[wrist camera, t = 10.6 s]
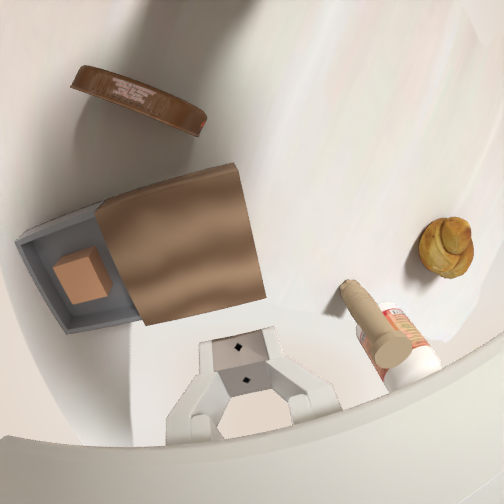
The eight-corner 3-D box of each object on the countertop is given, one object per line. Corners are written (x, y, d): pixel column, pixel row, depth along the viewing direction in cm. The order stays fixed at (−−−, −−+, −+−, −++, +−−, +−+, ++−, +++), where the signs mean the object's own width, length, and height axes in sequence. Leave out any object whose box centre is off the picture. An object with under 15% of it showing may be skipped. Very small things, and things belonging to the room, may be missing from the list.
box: (26, 230, 32) (14, 241, 29) (105, 199, 33) (96, 209, 30) (73, 320, 40) (66, 334, 37) (148, 303, 40) (145, 319, 37)
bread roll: (465, 240, 45) (493, 260, 38) (435, 279, 48) (460, 303, 41) (438, 200, 40) (471, 219, 33) (403, 246, 43) (433, 272, 36)
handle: (347, 306, 46) (389, 372, 33) (324, 287, 44) (367, 358, 30) (368, 286, 45) (417, 348, 32) (347, 264, 42) (399, 330, 29)
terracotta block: (88, 256, 32) (95, 245, 34) (52, 267, 32) (61, 256, 34) (107, 296, 35) (113, 283, 37) (72, 304, 34) (79, 292, 37)
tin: (86, 91, 26) (54, 89, 19) (97, 67, 25) (67, 58, 18) (198, 136, 31) (195, 144, 24) (210, 112, 30) (212, 112, 23)
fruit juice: (400, 293, 47) (495, 411, 22) (396, 330, 52) (470, 440, 27) (354, 310, 47) (439, 449, 22) (353, 346, 51) (419, 471, 27)
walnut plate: (107, 199, 33) (93, 212, 28) (233, 162, 33) (238, 170, 29) (150, 303, 40) (145, 326, 36) (259, 276, 41) (266, 297, 36)
